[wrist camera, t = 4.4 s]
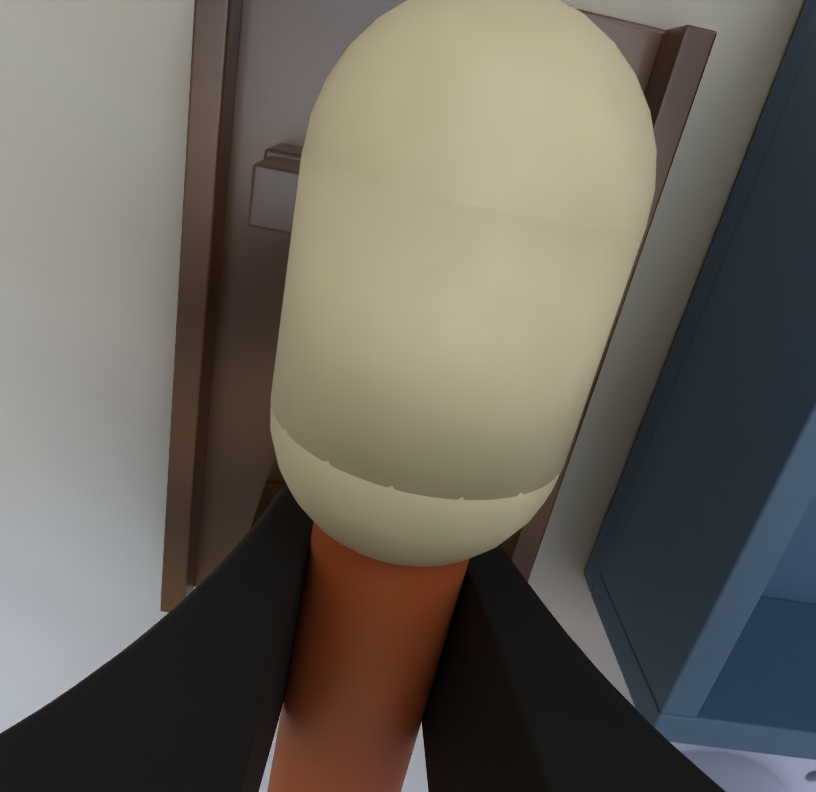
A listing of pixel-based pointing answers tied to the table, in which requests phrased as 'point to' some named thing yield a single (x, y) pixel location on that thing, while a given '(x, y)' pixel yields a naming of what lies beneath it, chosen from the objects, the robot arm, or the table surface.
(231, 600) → the robot arm
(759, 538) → the wash tub
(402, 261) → the bottle brush
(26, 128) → the table surface
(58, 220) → the table surface
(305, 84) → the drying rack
